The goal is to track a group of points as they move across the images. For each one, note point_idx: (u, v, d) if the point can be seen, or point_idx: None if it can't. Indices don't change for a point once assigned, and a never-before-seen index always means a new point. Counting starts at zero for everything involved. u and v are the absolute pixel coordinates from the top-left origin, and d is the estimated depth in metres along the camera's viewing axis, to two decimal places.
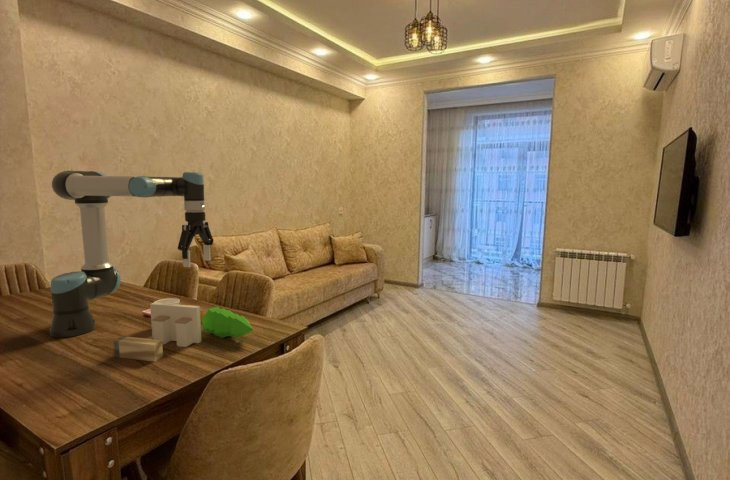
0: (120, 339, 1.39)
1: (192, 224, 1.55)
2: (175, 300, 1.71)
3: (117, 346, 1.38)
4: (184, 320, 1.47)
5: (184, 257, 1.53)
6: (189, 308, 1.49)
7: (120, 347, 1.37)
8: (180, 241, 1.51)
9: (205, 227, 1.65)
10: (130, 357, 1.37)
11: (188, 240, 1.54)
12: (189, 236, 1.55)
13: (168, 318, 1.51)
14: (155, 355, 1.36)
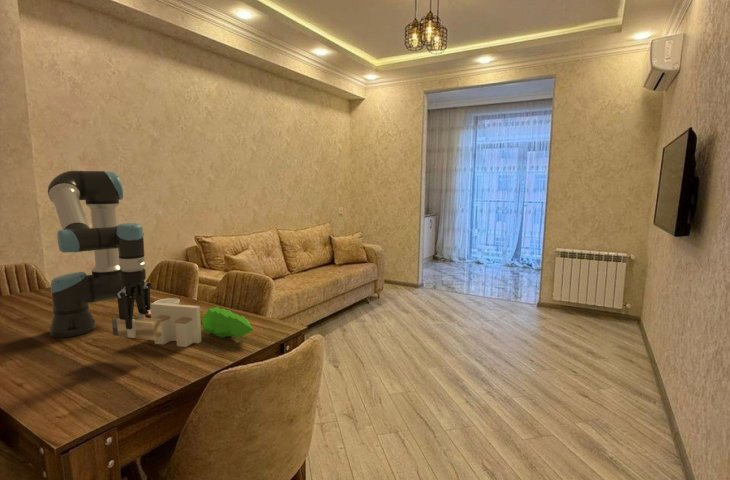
0: (118, 318, 1.38)
1: (127, 287, 1.31)
2: (175, 300, 1.71)
3: (115, 324, 1.37)
4: (184, 320, 1.47)
5: (128, 327, 1.34)
6: (189, 308, 1.49)
7: (118, 326, 1.37)
8: (120, 311, 1.31)
9: (145, 288, 1.40)
10: None
11: (129, 307, 1.33)
12: (129, 302, 1.33)
13: (168, 318, 1.51)
14: (154, 333, 1.35)
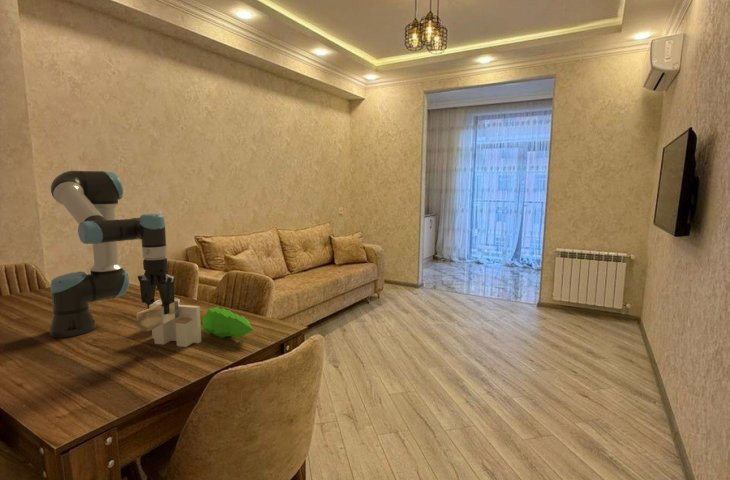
0: None
1: None
2: (175, 300, 1.71)
3: None
4: (184, 320, 1.47)
5: None
6: (189, 308, 1.49)
7: None
8: None
9: None
10: None
11: None
12: None
13: None
14: (138, 324, 1.34)
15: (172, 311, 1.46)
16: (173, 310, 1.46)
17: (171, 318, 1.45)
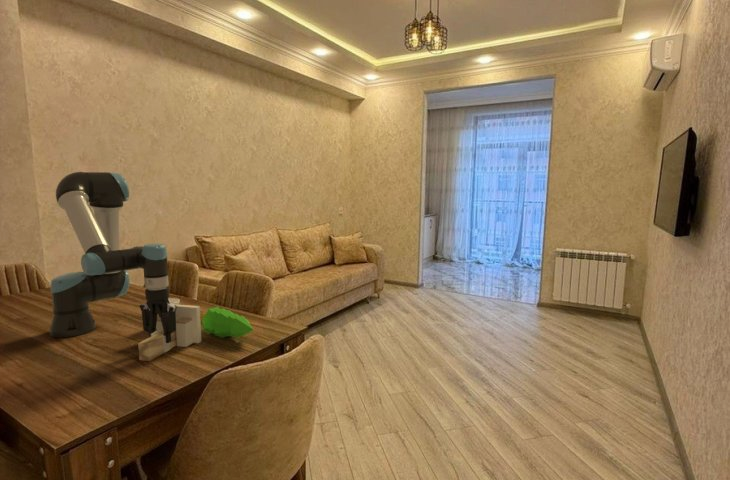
0: None
1: None
2: (175, 300, 1.71)
3: None
4: (184, 320, 1.47)
5: None
6: (189, 308, 1.49)
7: None
8: None
9: None
10: None
11: None
12: None
13: None
14: (140, 354, 1.36)
15: (173, 338, 1.47)
16: (174, 337, 1.48)
17: (172, 345, 1.47)
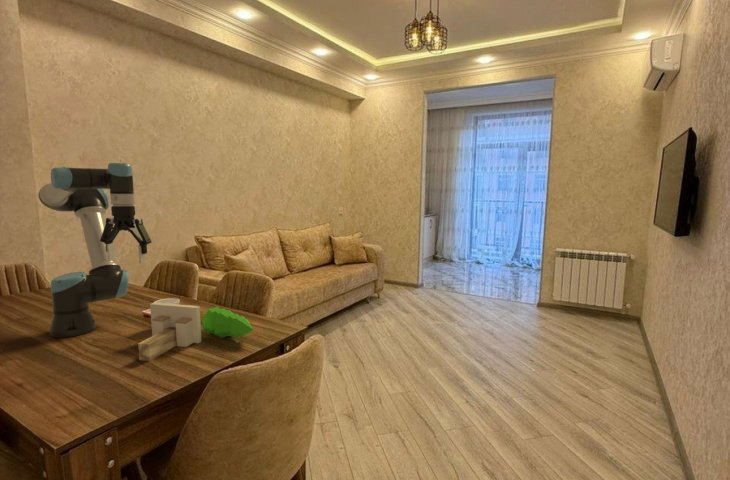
0: (170, 328, 1.49)
1: (113, 218, 1.47)
2: (175, 300, 1.71)
3: None
4: (184, 320, 1.47)
5: None
6: (189, 308, 1.49)
7: None
8: None
9: None
10: None
11: None
12: None
13: (168, 318, 1.51)
14: (140, 354, 1.36)
15: (173, 338, 1.47)
16: (174, 337, 1.48)
17: (172, 345, 1.47)
